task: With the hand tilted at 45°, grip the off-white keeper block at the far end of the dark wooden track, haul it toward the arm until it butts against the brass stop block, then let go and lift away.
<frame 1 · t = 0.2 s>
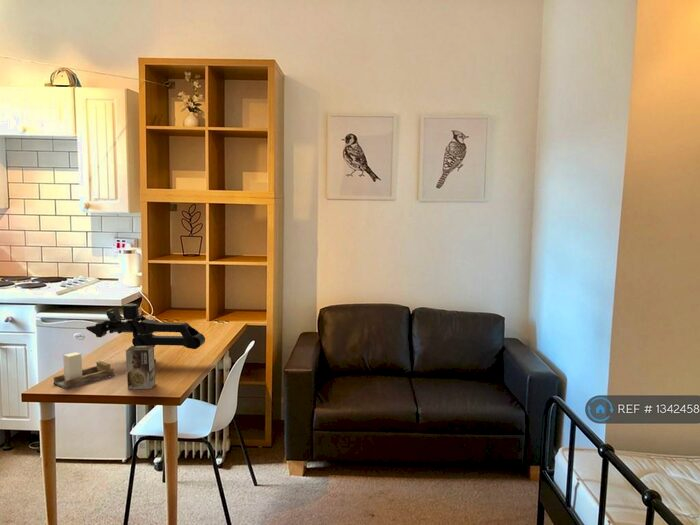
hand: (92, 325, 236), 17 cm above the table, tool horizontal, fingers open, 9 cm apart
keeper: (73, 367, 208), point 7 cm above the table, slide at 4.5 cm
coffee box: (141, 387, 205), on the table
track: (84, 379, 212), on the table
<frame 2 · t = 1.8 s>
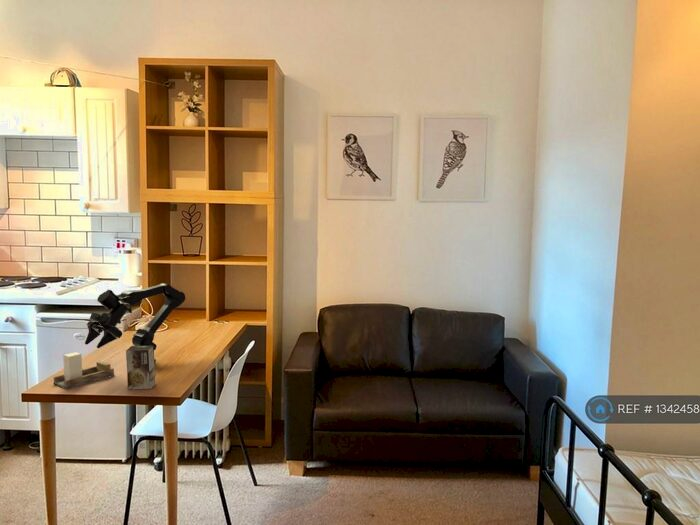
hand: (91, 345, 214), 14 cm above the table, tool tilted 45°, fingers open, 9 cm apart
nothing on the table moved.
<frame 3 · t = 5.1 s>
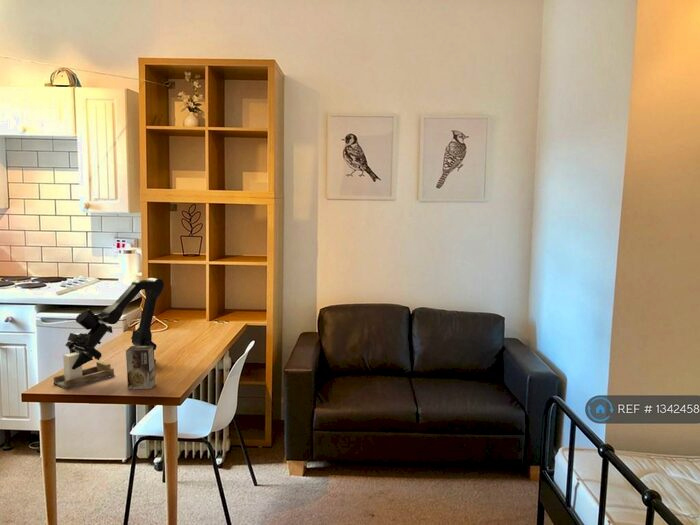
hand: (69, 368, 207), 7 cm above the table, tool tilted 45°, fingers closed on keeper, 4 cm apart
keeper: (73, 367, 208), point 7 cm above the table, slide at 4.5 cm, touching gripper
everything else where it was.
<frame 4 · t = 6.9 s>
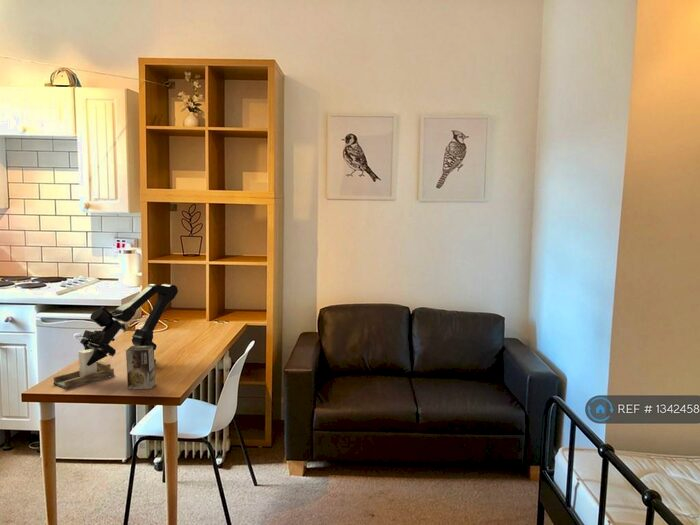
hand: (84, 364, 212), 7 cm above the table, tool tilted 45°, fingers closed on keeper, 4 cm apart
keeper: (87, 363, 213), point 7 cm above the table, slide at -1.6 cm, touching gripper
everything else where it was.
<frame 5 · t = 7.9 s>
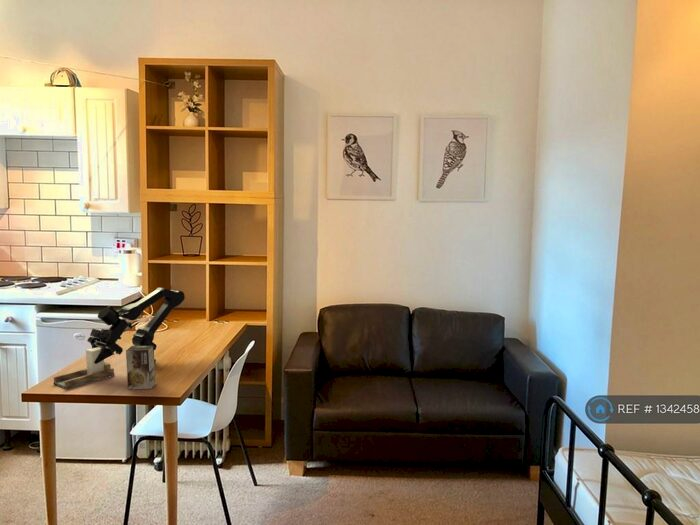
hand: (91, 362, 214), 7 cm above the table, tool tilted 45°, fingers closed on keeper, 4 cm apart
keeper: (95, 361, 215), point 7 cm above the table, slide at -4.8 cm, touching gripper
everything else where it was.
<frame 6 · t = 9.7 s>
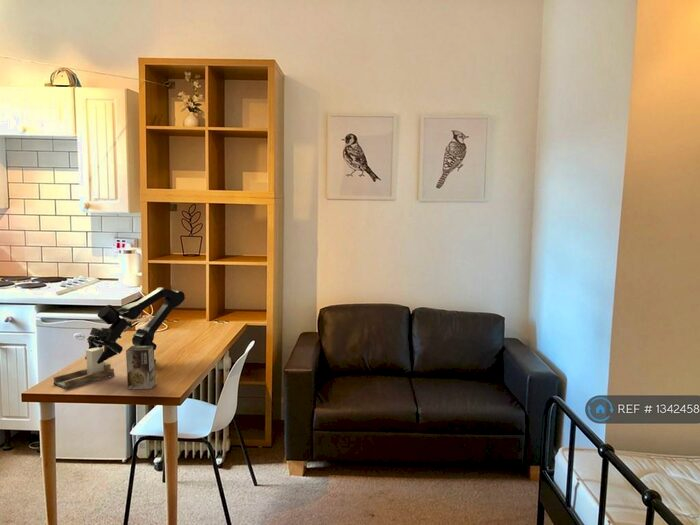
hand: (91, 361, 214), 7 cm above the table, tool tilted 45°, fingers open, 9 cm apart
keeper: (95, 361, 215), point 7 cm above the table, slide at -4.8 cm
everything else where it was.
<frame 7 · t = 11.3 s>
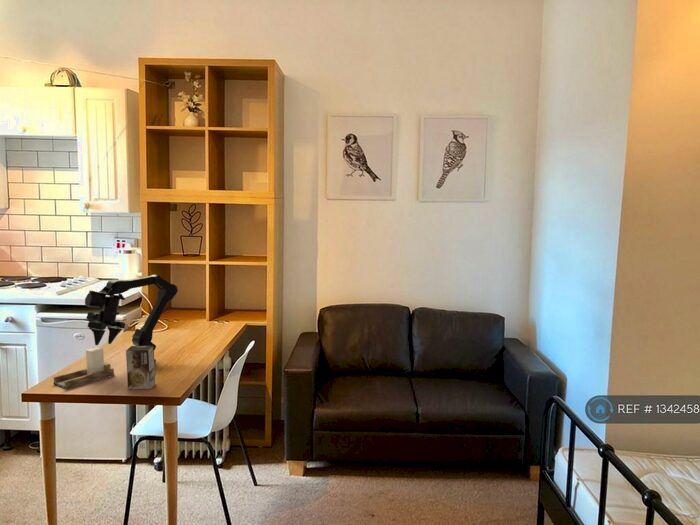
hand: (103, 344, 221), 12 cm above the table, tool pointing down, fingers open, 9 cm apart
nothing on the table moved.
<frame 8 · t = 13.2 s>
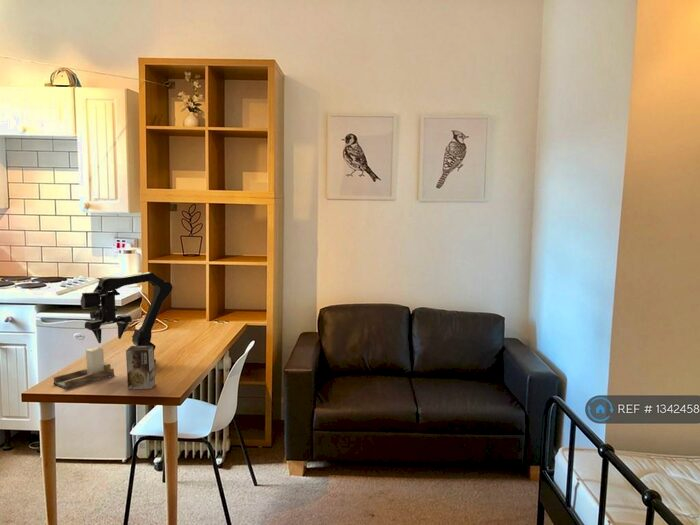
hand: (109, 341, 224), 13 cm above the table, tool pointing down, fingers open, 9 cm apart
nothing on the table moved.
at the end: keeper slide at -4.8 cm; the gripper is holding nothing; coffee box moved 0.2 cm from its start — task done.
